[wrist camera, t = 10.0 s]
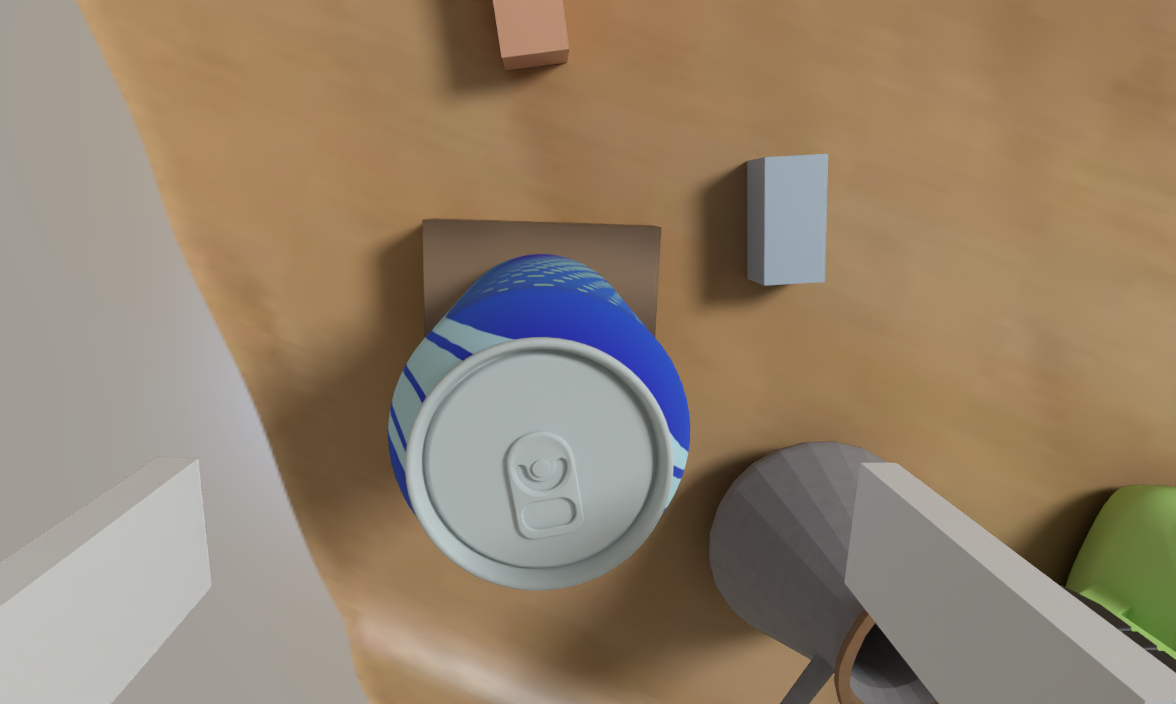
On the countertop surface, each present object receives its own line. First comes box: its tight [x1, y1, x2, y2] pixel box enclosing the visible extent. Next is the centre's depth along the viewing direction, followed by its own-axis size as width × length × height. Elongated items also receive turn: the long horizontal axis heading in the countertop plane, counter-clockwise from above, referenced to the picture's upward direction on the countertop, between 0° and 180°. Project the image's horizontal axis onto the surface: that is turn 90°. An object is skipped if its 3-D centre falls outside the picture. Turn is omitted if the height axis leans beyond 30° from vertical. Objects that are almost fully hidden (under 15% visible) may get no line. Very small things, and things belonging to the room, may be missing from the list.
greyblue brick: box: [747, 154, 828, 286], centre depth 33 cm, size 6×3×3 cm, turn 3°
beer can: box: [388, 254, 690, 591], centre depth 24 cm, size 8×8×16 cm
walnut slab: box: [422, 219, 661, 337], centre depth 33 cm, size 11×11×3 cm
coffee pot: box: [709, 441, 939, 704], centre depth 31 cm, size 21×12×15 cm, turn 128°
